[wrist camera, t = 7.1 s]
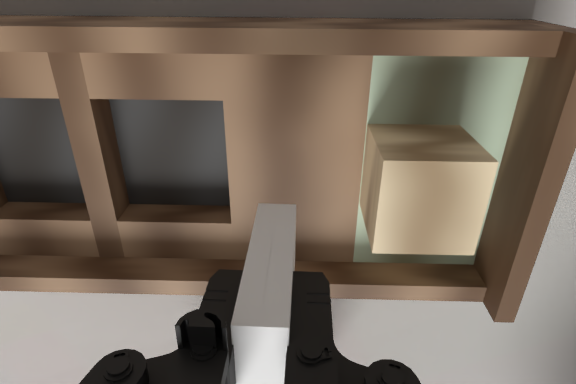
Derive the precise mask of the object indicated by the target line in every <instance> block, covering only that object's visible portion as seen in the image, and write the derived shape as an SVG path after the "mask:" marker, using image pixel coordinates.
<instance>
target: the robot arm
mask: <svg viewBox="0 0 576 384" xmlns="http://www.w3.org/2000/svg"><path fill="white" fill-rule="evenodd" d="M295 241H296V205H295V204H263V203H259V204H258V208H257V212H256V217H255V221H254V226H253V230H252V234H251V239H250V243H249V247H248V252H247V256H246V260H245V265H244V269H243V270H226V269H219V270H218V271H217V272H216V273H215V274H214V275H213V276H212V277H211V278H210V279H209V282H208V285H207V287H206V292H205V293H204V296H203V301H202V302H201V305H200V308H199V309H197V310H194V311H191V312H189V313H187V314H185V315H184V316H183V317H181V318H180V319H179V320H178V322H177V323H176V325H175V330H176V336H177V343H178V349H177V350H175V351H174V352H172V353H169V354H166V355H163V356H159V357H154V358H150V359H145V358H144V356H143V355H142V353H140V352H138V351H136V350H131V349H123V350H118V351H114V352H112V353H110V354H108V355H106V356H104V357H103V358H102V359H101V360H100V361H99V362H98V363H96V365H95V366H94V367H93V368H92V369H91V370H90V372H89V373H88V374H87V375H86V376H85V377H84V379H83V380H82V381H81V382H80V383H79V384H421V383H420V381H419V379H418V378H417V376H416V375H415V374H414V372H413V371H412V370H411V369H410V368H409V367H407V366H406V365H404V364H403V363H401V362H398V361H394V360H383V359H382V360H379V361H376V362H373V363H372V364H371V365H370V366H369V367H366V366H363V365H360V364H357V363H355V362H352V361H350V360H348V359H347V358H345V357H344V356H342V354H341V353H340V352H339V351H338V350H337V348H336V346H335V345H334V340H333V329H332V314H331V299H330V284H329V281H328V279H327V278H326V277H325V275H324V274H323V272H307V271H295Z"/></svg>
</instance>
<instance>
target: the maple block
mask: <svg viewBox="0 0 576 384" xmlns="http://www.w3.org/2000/svg"><path fill="white" fill-rule="evenodd" d="M498 164H499V162H498V161H497V160H496V159H495V158H494V157H493V156H492V155H491V154H490V153H489V152H488V151H486V150H485V149H484V148H483V147H482V146H481V145H480V144H479V143H478V142H477V141H476V140H475V139H474V138H473V137H472V136H471V135H470V134H469V133H468V132H467V131H466V130H465V129H463V128H462V127H461V126H460V125H417V124H367V133H366V143H365V153H364V163H363V174H362V184H361V194H360V207H361V211H362V215H363V219H364V223H365V227H366V231H367V235H368V239H369V243H370V247H371V251H372V253H376V254H426V255H474V254H475V250H476V247H477V243H478V239H479V235H480V232H481V228H482V224H483V220H484V217H485V213H486V209H487V205H488V201H489V198H490V194H491V190H492V186H493V183H494V179H495V175H496V171H497V168H498Z"/></svg>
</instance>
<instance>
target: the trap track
mask: <svg viewBox="0 0 576 384" xmlns="http://www.w3.org/2000/svg"><path fill="white" fill-rule="evenodd" d="M367 124H417V125H460V126H461V127H462V128H463V129H465V130H466V131H467V132H468V133H469V134H470V135H471V136H472V137H473V138H474V139H475V140H476V141H477V142H478V143H479V144H480V145H481V146H482V147H483V148H484V149H485V150H486V151H488V152H489V153H490V154H491V155H492V156H493V157H494V158H495V159H496V160H497V161H498V162H499V164H498V168H497V171H496V175H495V179H494V183H493V186H492V190H491V194H490V198H489V201H488V205H487V209H486V213H485V217H484V220H483V224H482V228H481V232H480V235H479V239H478V243H477V247H476V250H475V254H474V255H426V254H376V253H372V251H371V247H370V243H369V239H368V235H367V231H366V227H365V223H364V219H363V215H362V211H361V207H360V194H361V184H362V174H363V163H364V153H365V143H366V133H367ZM575 148H576V28H571V27H566V26H561V25H556V24H551V23H546V22H541V21H536V20H503V19H382V18H260V17H139V16H18V15H0V291H35V292H78V293H122V294H166V295H204V293H205V292H206V287H207V285H208V282H209V279H210V278H211V277H212V276H213V275H214V274H215V273H216V272H217V271H218V270H219V269H226V270H243V269H244V265H245V260H246V256H247V252H248V247H249V243H250V239H251V234H252V230H253V226H254V221H255V217H256V212H257V208H258V204H259V203H263V204H295V205H296V241H295V271H307V272H323V274H324V275H325V277H326V278H327V279H328V281H329V284H330V298H342V299H386V300H430V301H474V302H483V303H484V305H485V306H486V308H487V310H488V312H489V314H490V315H491V317H492V319H493V321H494V322H514V320H515V317H516V314H517V312H518V309H519V306H520V303H521V300H522V298H523V295H524V292H525V289H526V286H527V283H528V281H529V278H530V275H531V272H532V269H533V266H534V264H535V261H536V258H537V255H538V252H539V250H540V247H541V244H542V241H543V238H544V235H545V233H546V230H547V227H548V224H549V221H550V218H551V216H552V213H553V210H554V207H555V204H556V202H557V199H558V196H559V193H560V190H561V187H562V185H563V182H564V179H565V176H566V173H567V170H568V168H569V165H570V162H571V159H572V156H573V154H574V151H575Z"/></svg>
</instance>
